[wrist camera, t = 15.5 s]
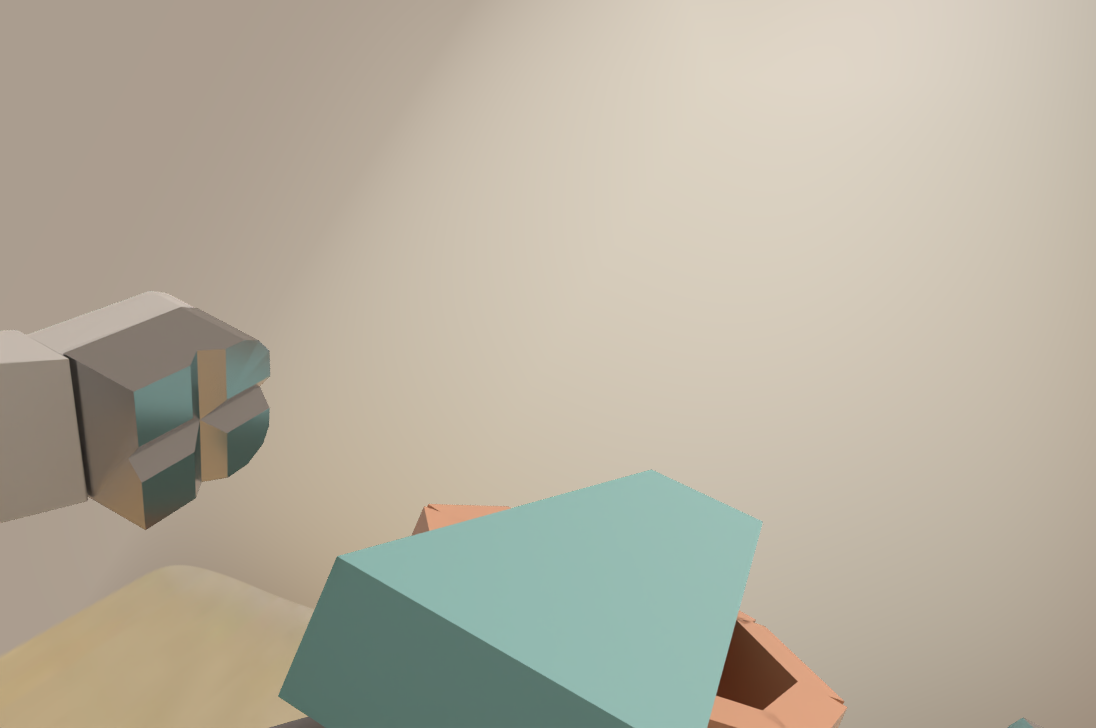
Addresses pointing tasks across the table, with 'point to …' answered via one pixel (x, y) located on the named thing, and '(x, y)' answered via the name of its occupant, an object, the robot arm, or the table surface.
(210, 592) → the table surface
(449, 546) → the lid slat
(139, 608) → the table surface
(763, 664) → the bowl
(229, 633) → the table surface
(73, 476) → the robot arm
